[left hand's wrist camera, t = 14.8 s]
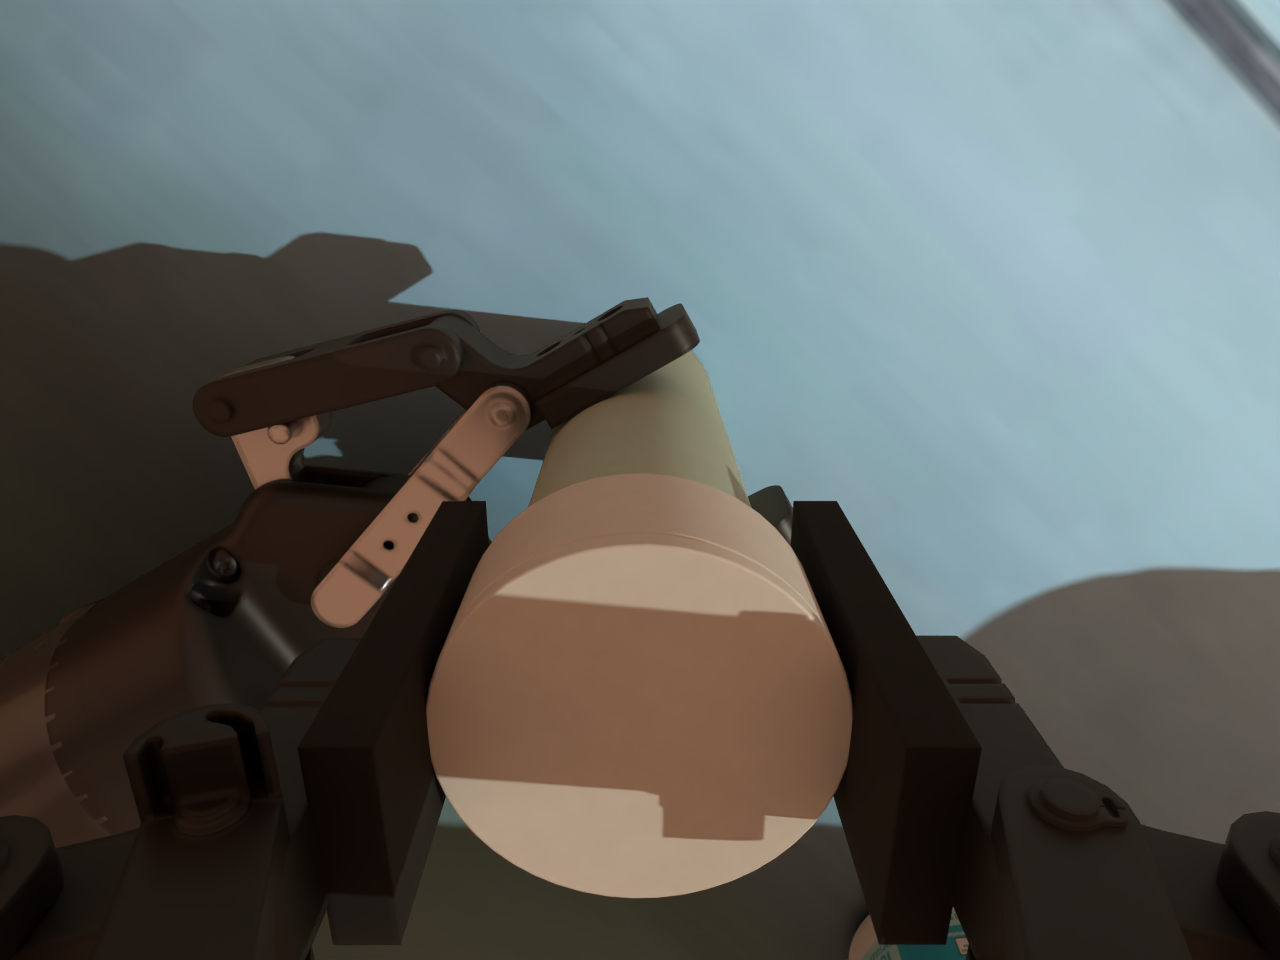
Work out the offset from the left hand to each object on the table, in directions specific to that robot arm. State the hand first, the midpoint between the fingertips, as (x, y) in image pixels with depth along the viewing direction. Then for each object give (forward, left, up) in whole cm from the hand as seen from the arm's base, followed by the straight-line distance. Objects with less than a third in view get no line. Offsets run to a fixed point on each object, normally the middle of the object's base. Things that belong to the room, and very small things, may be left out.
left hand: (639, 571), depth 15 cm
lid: (0, 0, +4) cm, 4 cm away
